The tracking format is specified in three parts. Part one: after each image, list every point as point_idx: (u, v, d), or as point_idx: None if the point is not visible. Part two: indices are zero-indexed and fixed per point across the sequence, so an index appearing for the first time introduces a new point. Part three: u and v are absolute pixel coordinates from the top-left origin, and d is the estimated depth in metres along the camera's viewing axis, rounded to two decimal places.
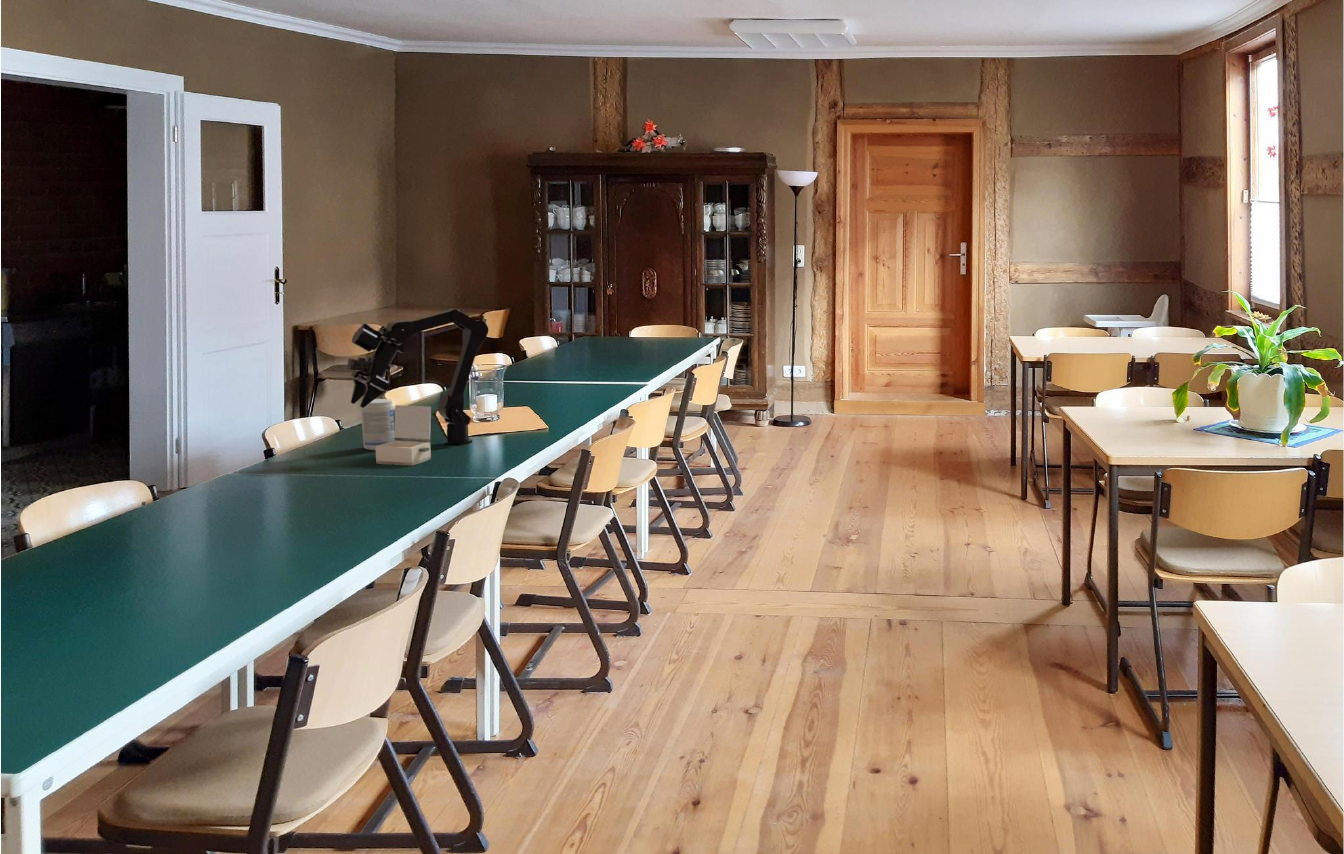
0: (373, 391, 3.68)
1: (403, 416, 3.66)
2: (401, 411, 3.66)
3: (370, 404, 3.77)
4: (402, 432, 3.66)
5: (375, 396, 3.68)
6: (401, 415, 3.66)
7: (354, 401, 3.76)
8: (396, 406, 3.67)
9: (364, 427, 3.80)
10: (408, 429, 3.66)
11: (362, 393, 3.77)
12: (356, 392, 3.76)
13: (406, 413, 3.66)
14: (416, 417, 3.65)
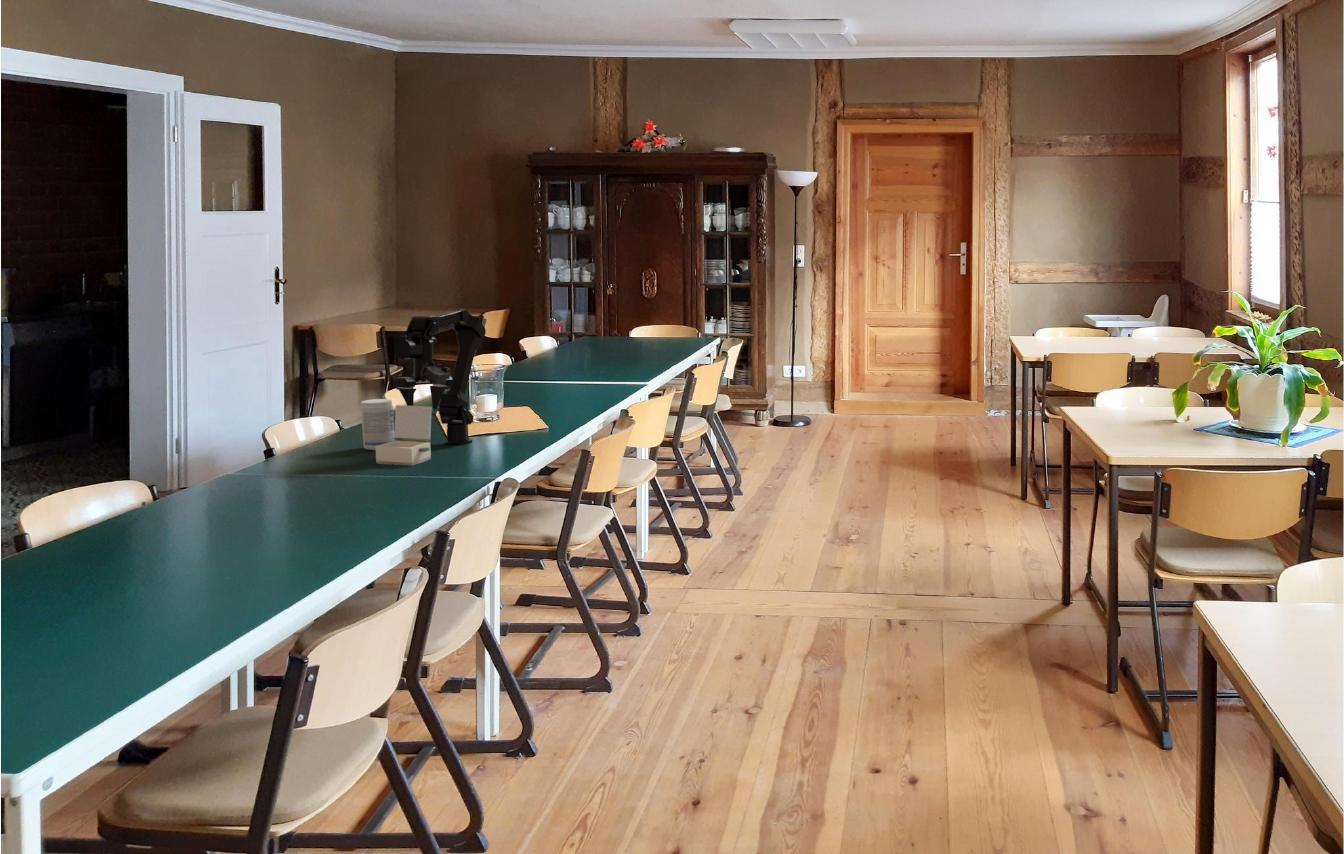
0: None
1: (403, 416, 3.66)
2: (402, 411, 3.67)
3: (370, 404, 3.77)
4: (402, 432, 3.66)
5: None
6: (401, 415, 3.67)
7: None
8: (397, 406, 3.67)
9: (364, 427, 3.80)
10: (408, 429, 3.66)
11: None
12: None
13: (407, 413, 3.66)
14: (417, 417, 3.65)
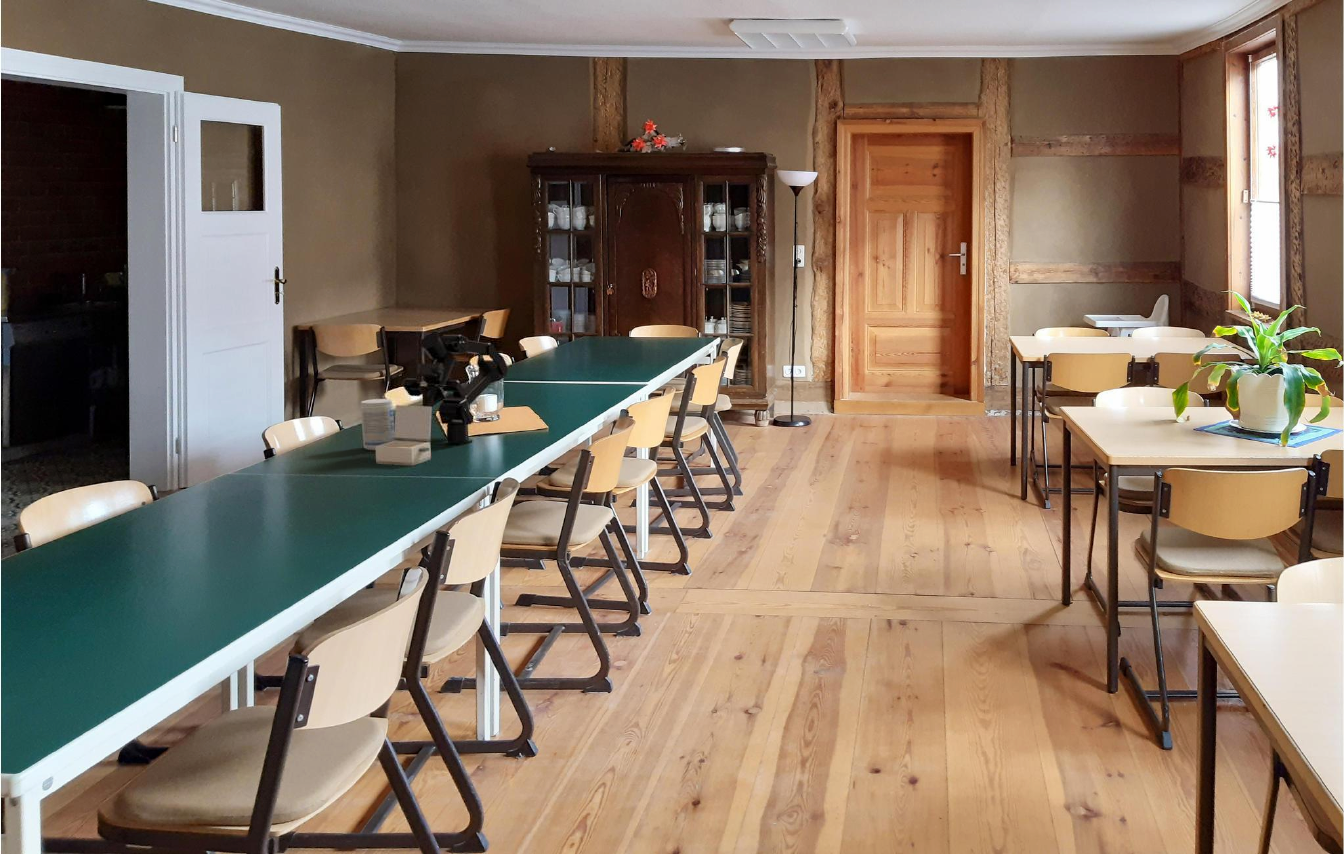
0: (435, 397, 3.74)
1: (403, 416, 3.66)
2: (402, 411, 3.67)
3: (370, 404, 3.77)
4: (402, 432, 3.66)
5: (436, 401, 3.74)
6: (401, 415, 3.67)
7: None
8: (397, 406, 3.67)
9: (364, 427, 3.80)
10: (408, 429, 3.66)
11: None
12: (426, 400, 3.73)
13: (407, 413, 3.66)
14: (417, 417, 3.65)
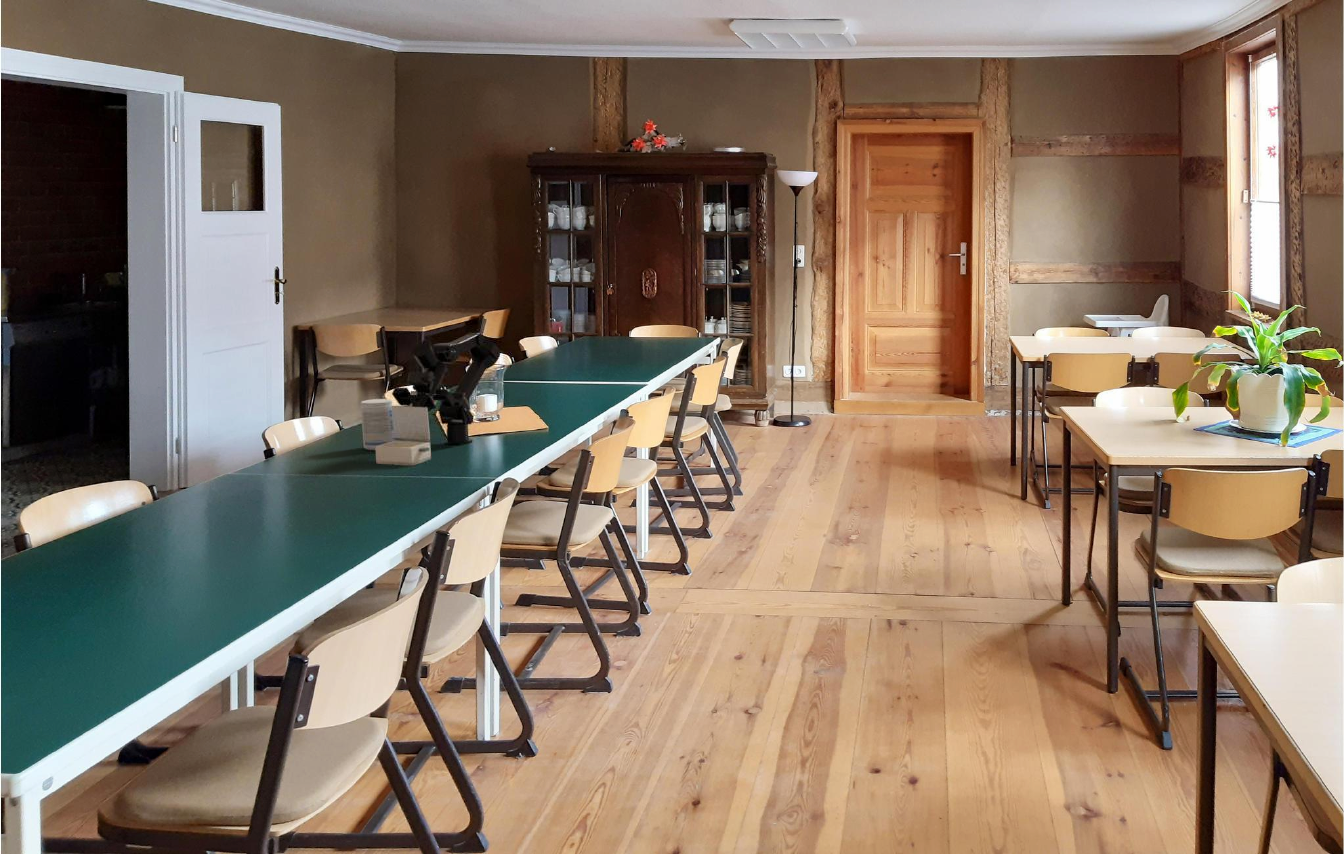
0: (425, 406, 3.69)
1: (400, 417, 3.65)
2: (398, 412, 3.65)
3: (370, 404, 3.77)
4: (401, 432, 3.66)
5: None
6: (398, 416, 3.65)
7: None
8: (392, 407, 3.65)
9: (364, 427, 3.80)
10: (407, 429, 3.65)
11: None
12: None
13: (403, 414, 3.64)
14: (414, 418, 3.63)
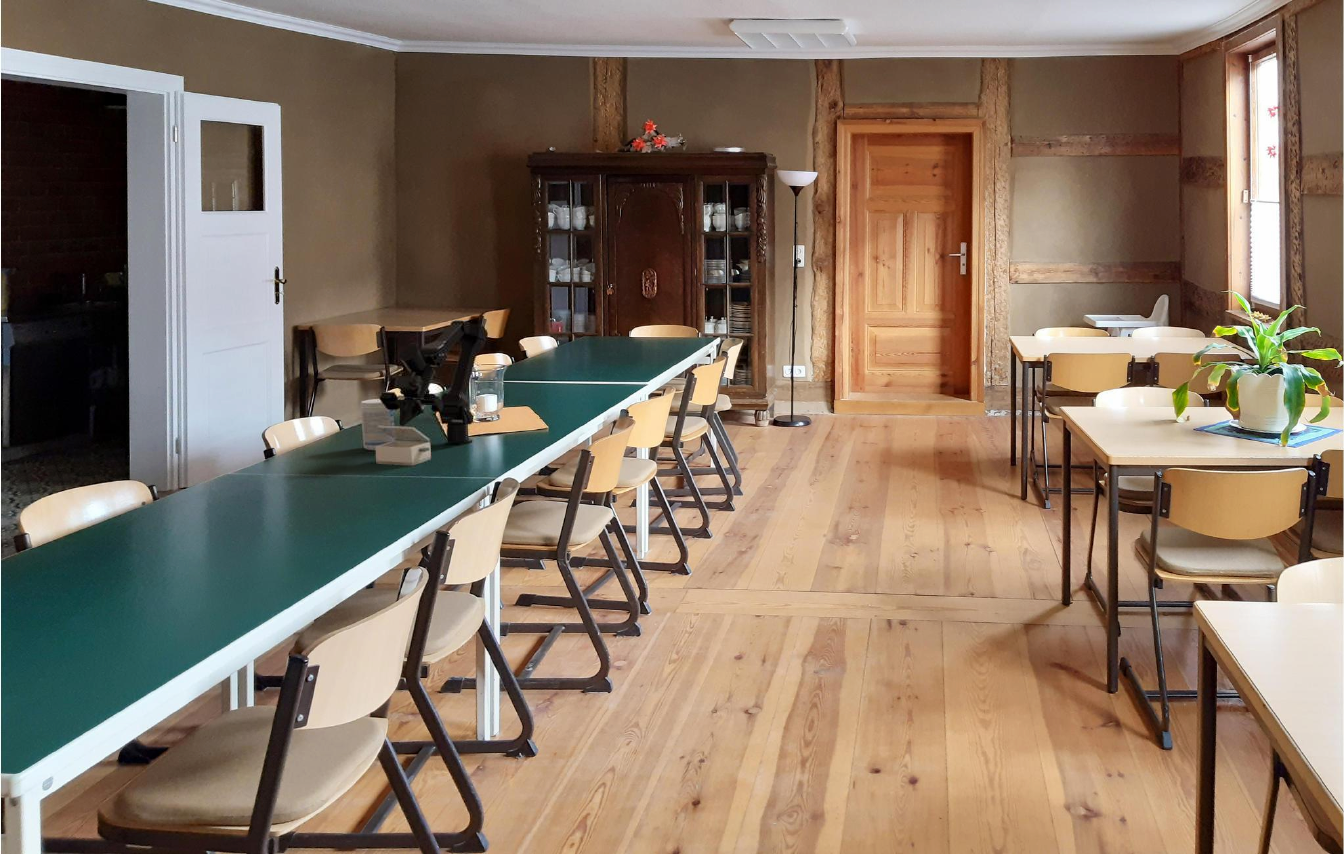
0: (413, 410, 3.63)
1: (391, 431, 3.61)
2: (387, 429, 3.60)
3: (370, 404, 3.77)
4: (399, 437, 3.65)
5: (414, 415, 3.63)
6: (389, 431, 3.61)
7: None
8: (379, 427, 3.59)
9: (364, 427, 3.80)
10: (403, 436, 3.63)
11: None
12: (403, 414, 3.62)
13: (393, 430, 3.60)
14: (405, 432, 3.59)
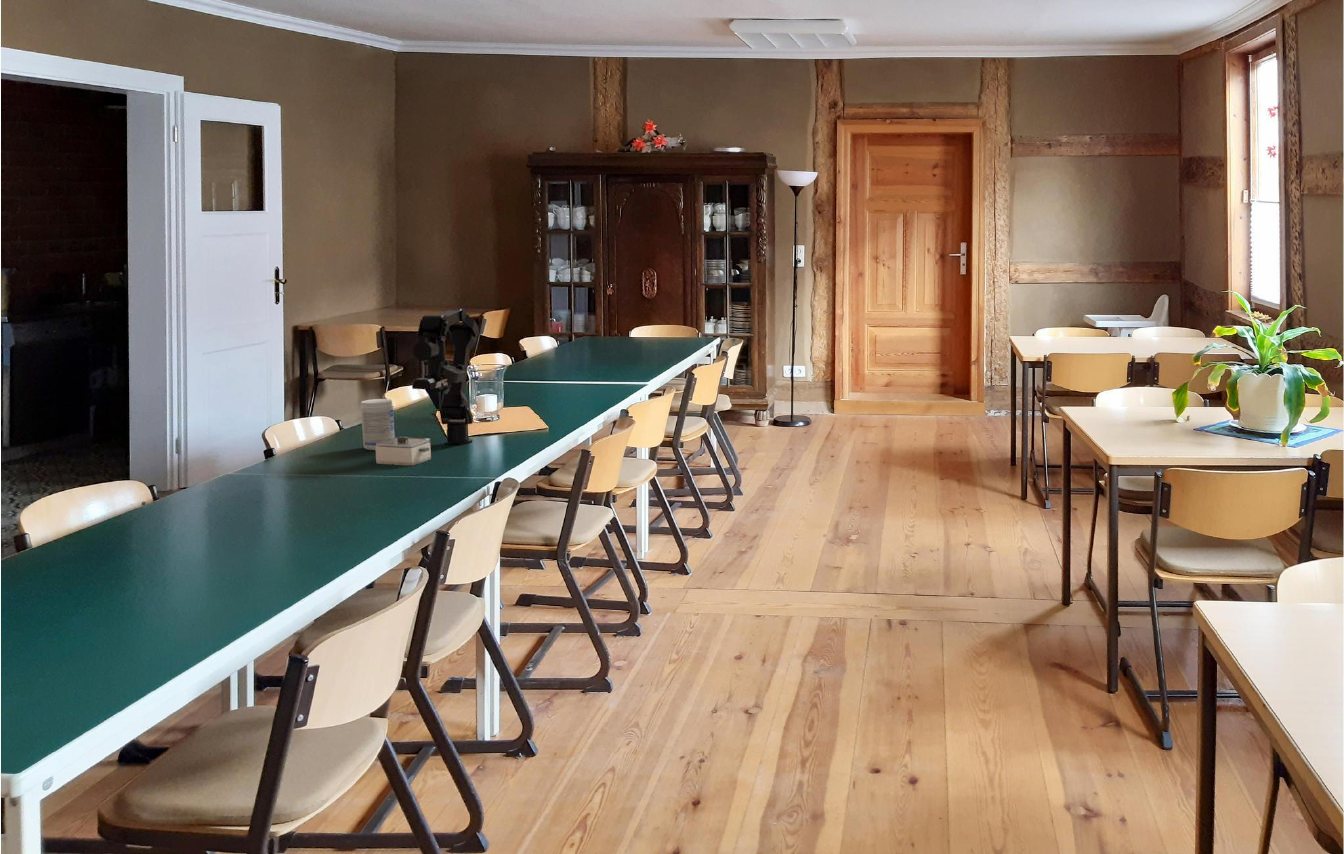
0: None
1: None
2: None
3: (370, 404, 3.77)
4: None
5: None
6: None
7: None
8: None
9: (364, 427, 3.80)
10: None
11: None
12: None
13: None
14: None
